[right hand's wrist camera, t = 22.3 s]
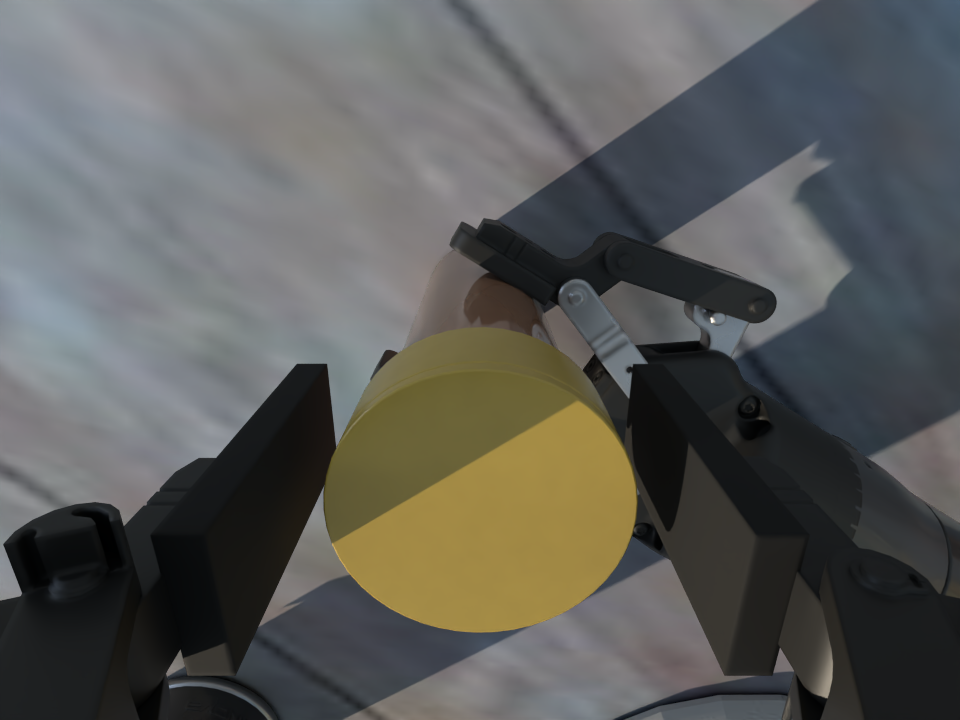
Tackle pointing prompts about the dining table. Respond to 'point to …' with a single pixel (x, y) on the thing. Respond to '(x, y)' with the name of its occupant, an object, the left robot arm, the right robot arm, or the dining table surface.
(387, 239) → the dining table surface
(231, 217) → the dining table surface
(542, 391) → the lid
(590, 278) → the left robot arm
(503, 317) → the jar
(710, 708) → the wall clock
